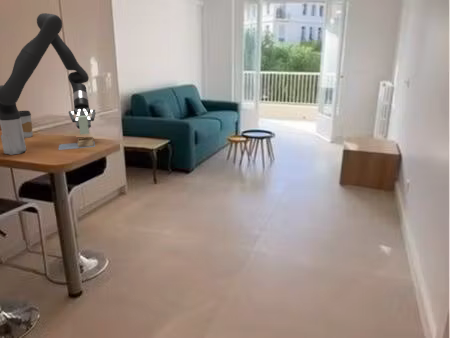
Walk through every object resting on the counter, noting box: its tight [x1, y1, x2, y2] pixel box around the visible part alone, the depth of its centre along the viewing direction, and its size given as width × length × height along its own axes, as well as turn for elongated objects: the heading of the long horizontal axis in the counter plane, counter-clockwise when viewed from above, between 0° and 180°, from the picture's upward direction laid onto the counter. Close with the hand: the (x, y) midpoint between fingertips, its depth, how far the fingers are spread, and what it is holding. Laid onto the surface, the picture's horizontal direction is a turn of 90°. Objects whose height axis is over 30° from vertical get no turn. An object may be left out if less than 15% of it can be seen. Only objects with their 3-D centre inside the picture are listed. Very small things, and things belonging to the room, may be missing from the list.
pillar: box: [78, 115, 90, 135], centre depth 196 cm, size 4×4×9 cm
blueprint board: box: [58, 140, 96, 151], centre depth 198 cm, size 18×12×1 cm, turn 110°
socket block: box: [77, 136, 94, 147], centre depth 199 cm, size 8×8×3 cm
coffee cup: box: [18, 110, 34, 139], centre depth 219 cm, size 8×8×15 cm
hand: (83, 127), depth 194 cm, fingers closed on pillar, 4 cm apart
